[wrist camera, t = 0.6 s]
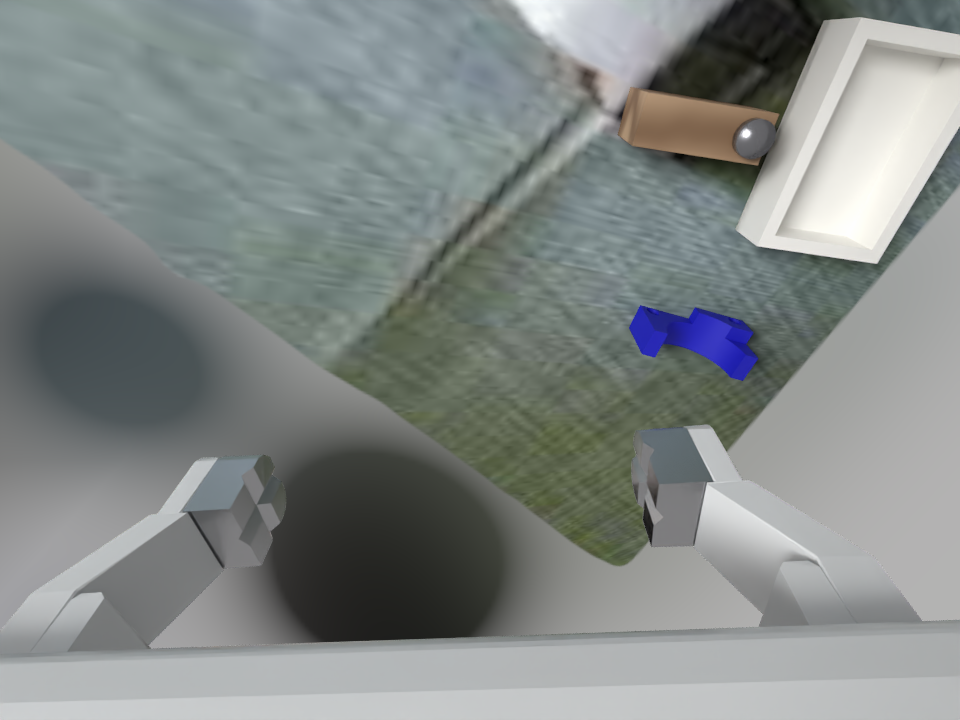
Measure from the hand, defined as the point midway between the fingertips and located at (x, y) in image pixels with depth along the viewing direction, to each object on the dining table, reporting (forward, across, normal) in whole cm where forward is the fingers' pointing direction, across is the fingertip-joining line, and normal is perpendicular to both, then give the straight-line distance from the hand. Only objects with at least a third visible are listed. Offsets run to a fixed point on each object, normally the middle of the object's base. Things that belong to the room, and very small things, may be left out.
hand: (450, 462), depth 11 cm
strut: (+43, -18, 0) cm, 47 cm away
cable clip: (+43, -21, +22) cm, 53 cm away
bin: (+43, -33, +4) cm, 54 cm away
